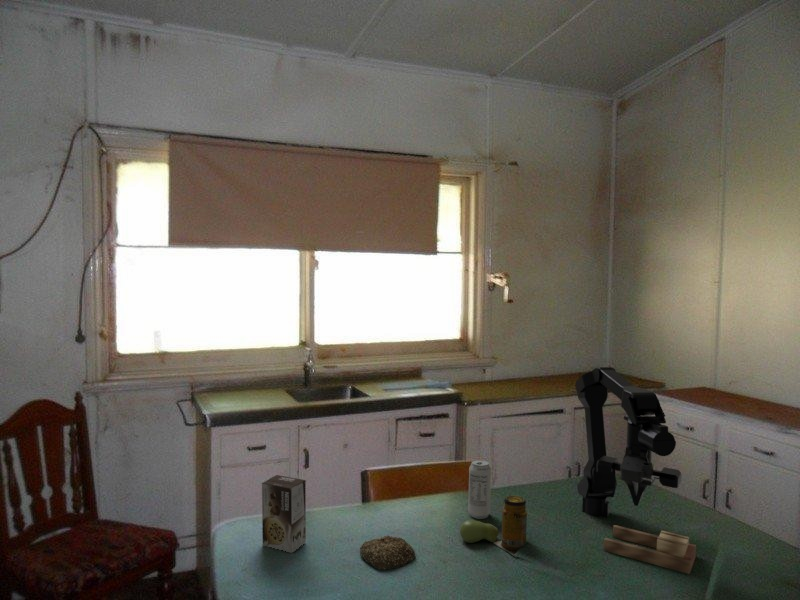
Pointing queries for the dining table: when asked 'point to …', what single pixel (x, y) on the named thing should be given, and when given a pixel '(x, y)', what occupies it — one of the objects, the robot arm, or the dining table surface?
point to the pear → (478, 531)
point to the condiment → (513, 524)
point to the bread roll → (387, 552)
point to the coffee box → (284, 513)
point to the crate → (672, 544)
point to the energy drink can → (479, 489)
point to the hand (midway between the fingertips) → (636, 505)
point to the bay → (648, 554)
